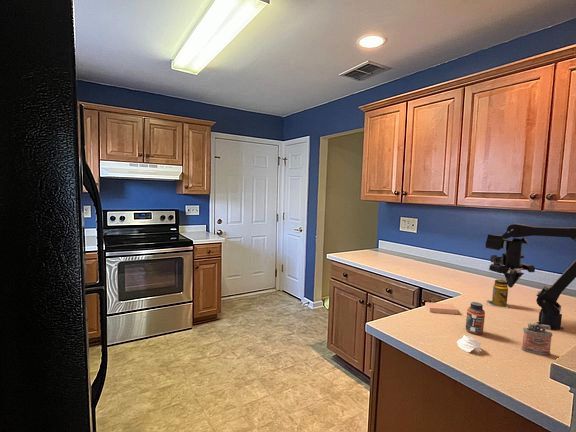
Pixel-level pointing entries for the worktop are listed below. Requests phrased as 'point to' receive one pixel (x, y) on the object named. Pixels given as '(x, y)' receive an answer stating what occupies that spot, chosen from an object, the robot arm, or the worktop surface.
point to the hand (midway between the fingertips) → (510, 287)
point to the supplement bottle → (475, 318)
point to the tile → (441, 308)
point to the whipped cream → (468, 343)
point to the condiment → (499, 294)
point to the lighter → (537, 339)
